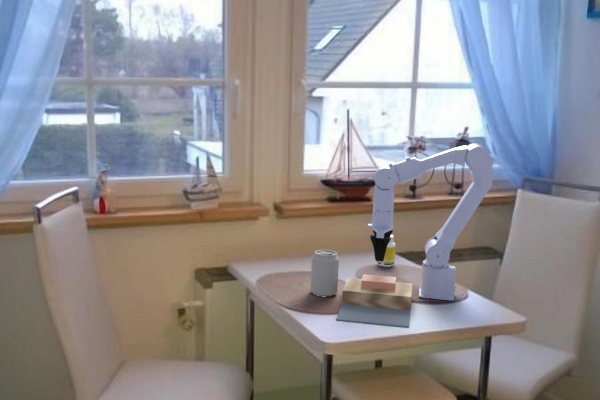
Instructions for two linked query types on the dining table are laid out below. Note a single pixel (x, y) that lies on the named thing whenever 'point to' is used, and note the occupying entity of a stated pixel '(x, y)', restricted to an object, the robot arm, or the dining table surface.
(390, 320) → the mat
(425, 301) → the dining table surface
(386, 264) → the supplement bottle
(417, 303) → the dining table surface
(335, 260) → the can
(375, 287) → the pink rectangular block
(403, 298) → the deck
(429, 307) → the dining table surface
